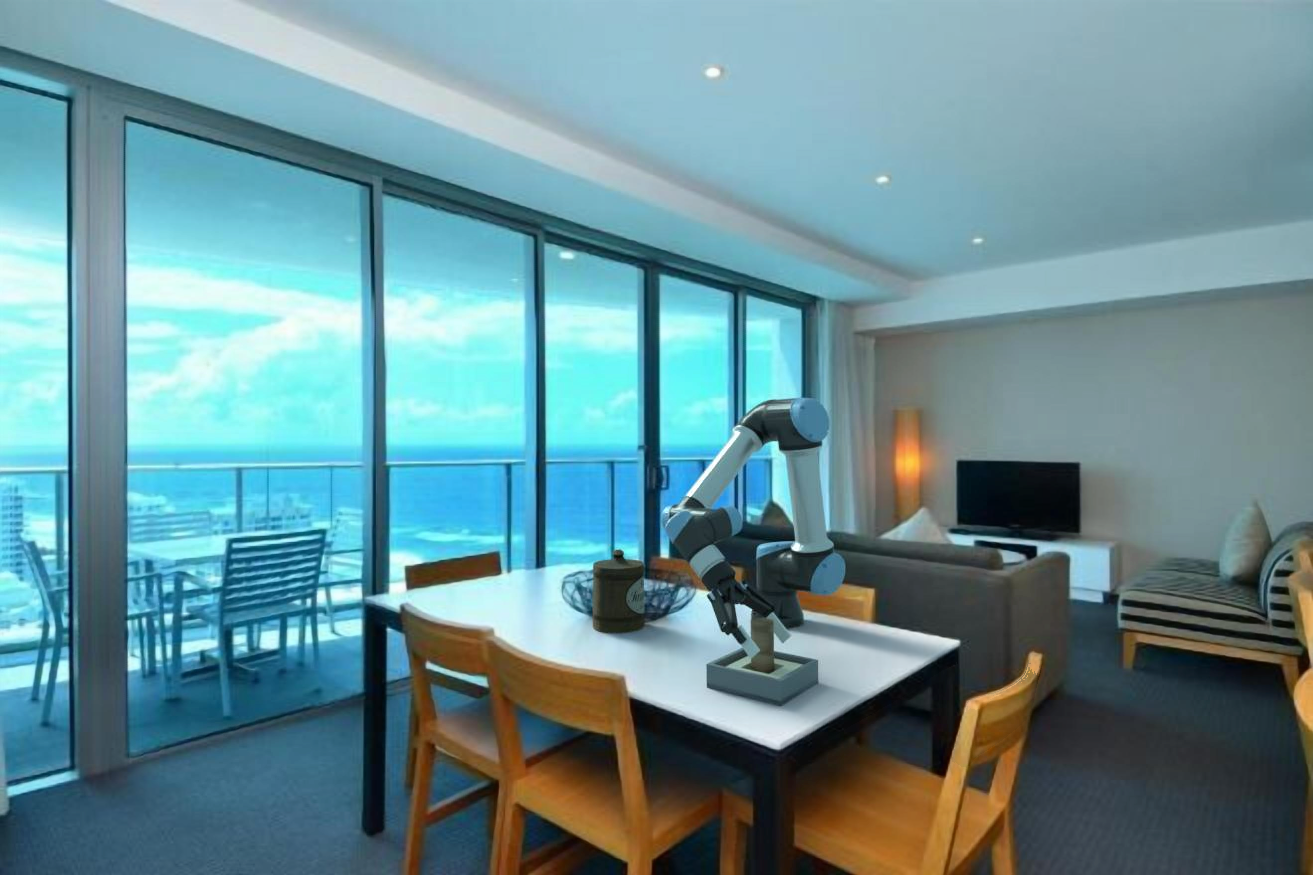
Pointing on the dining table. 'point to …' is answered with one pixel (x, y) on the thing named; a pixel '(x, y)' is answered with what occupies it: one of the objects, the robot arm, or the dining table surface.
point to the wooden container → (618, 594)
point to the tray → (763, 677)
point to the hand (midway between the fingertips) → (771, 646)
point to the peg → (763, 645)
